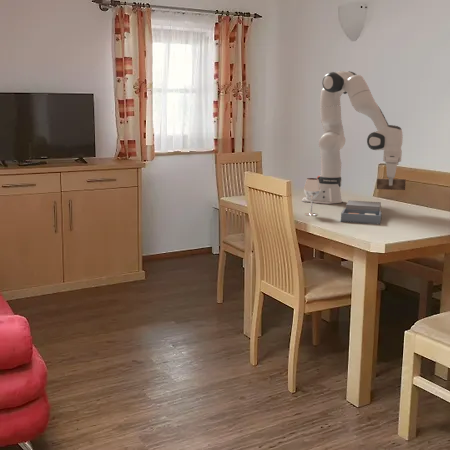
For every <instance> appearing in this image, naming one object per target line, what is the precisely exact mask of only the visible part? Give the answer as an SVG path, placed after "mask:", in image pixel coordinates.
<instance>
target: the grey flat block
mask: <svg viewBox="0 0 450 450" xmlns="http://www.w3.org/2000/svg"><path fill="white" fill-rule="evenodd" d="M381 204H382V202H381V201H365V200H349V199H348V200H347V202H346V205H345V209H357V210H373V211H381Z"/></svg>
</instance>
